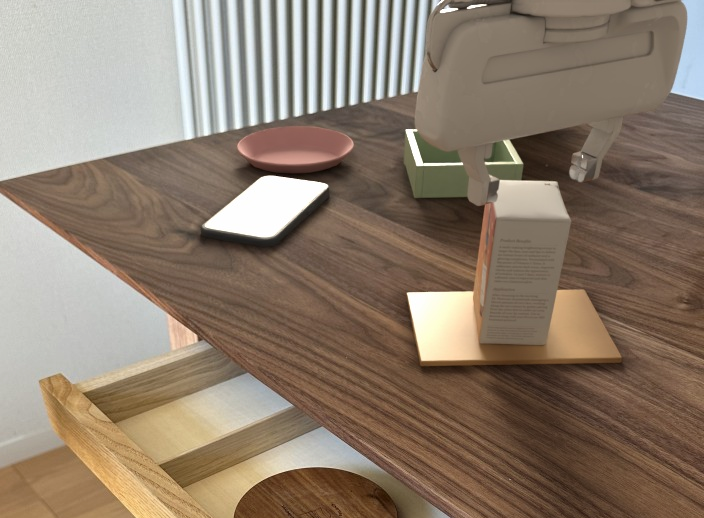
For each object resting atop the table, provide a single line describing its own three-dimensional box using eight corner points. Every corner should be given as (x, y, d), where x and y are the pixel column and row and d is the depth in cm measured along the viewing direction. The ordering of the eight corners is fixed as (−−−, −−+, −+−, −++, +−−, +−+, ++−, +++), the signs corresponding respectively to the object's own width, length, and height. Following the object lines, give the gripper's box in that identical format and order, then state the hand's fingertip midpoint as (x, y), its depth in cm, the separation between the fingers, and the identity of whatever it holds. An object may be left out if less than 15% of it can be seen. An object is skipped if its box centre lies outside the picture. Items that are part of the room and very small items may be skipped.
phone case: (273, 256, 85) (334, 197, 96) (272, 241, 84) (334, 183, 95) (196, 243, 88) (263, 187, 99) (194, 228, 87) (262, 173, 98)
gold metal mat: (582, 299, 77) (584, 289, 76) (619, 368, 68) (622, 357, 67) (405, 302, 77) (406, 292, 76) (420, 372, 68) (420, 361, 67)
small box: (471, 299, 75) (487, 177, 68) (536, 301, 74) (558, 179, 67) (477, 345, 69) (494, 216, 62) (547, 347, 69) (572, 218, 62)
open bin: (498, 162, 104) (502, 127, 101) (518, 201, 94) (523, 163, 92) (403, 164, 104) (405, 129, 101) (414, 203, 95) (416, 165, 92)
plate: (217, 172, 103) (215, 154, 101) (270, 137, 112) (270, 120, 111) (324, 188, 98) (324, 171, 97) (370, 150, 108) (371, 134, 106)
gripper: (460, 0, 49) (440, 232, 59) (720, -36, 56) (665, 179, 65) (403, -17, 54) (393, 202, 63) (651, -48, 60) (609, 155, 69)
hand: (533, 190), depth 64 cm, fingers open, 8 cm apart
